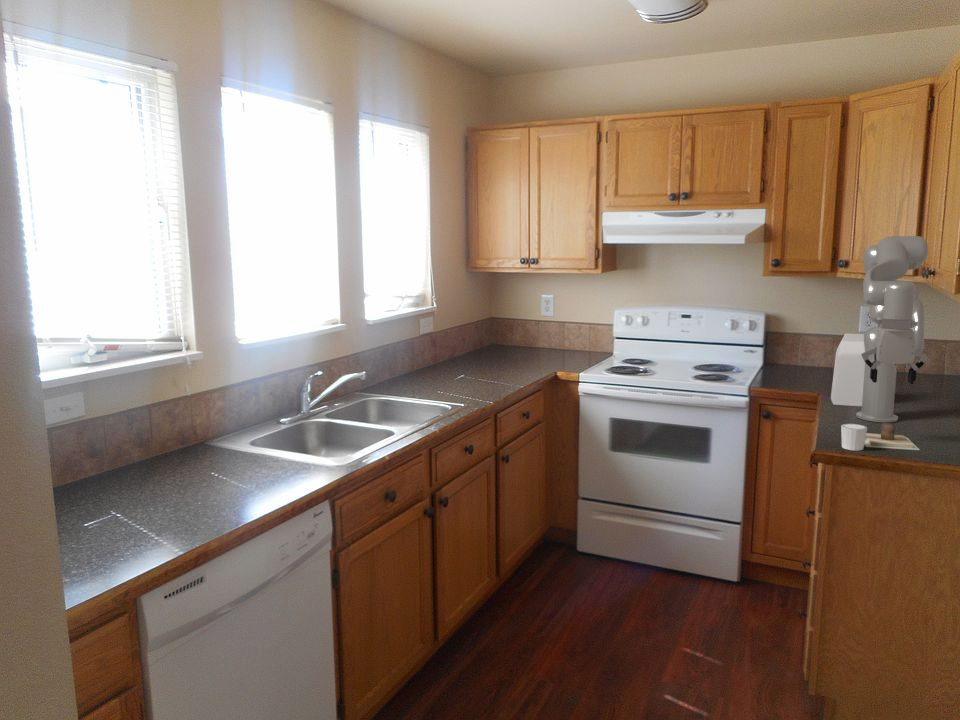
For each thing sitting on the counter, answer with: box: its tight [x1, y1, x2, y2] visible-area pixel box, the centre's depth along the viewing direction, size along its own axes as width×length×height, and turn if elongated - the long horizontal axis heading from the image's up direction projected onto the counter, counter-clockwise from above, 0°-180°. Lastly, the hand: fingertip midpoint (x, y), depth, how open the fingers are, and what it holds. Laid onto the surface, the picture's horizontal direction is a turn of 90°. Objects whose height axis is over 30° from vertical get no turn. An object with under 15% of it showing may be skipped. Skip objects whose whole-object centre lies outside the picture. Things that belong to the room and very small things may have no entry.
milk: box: [830, 333, 865, 407], centre depth 268 cm, size 12×12×26 cm
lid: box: [865, 422, 914, 448], centre depth 214 cm, size 11×11×6 cm
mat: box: [864, 436, 921, 451], centre depth 215 cm, size 14×14×1 cm
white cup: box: [840, 423, 868, 451], centre depth 209 cm, size 7×7×7 cm
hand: (892, 382), depth 212 cm, fingers open, 9 cm apart
